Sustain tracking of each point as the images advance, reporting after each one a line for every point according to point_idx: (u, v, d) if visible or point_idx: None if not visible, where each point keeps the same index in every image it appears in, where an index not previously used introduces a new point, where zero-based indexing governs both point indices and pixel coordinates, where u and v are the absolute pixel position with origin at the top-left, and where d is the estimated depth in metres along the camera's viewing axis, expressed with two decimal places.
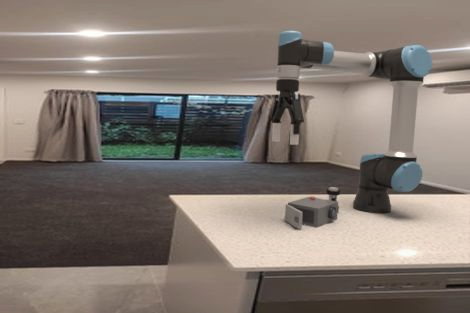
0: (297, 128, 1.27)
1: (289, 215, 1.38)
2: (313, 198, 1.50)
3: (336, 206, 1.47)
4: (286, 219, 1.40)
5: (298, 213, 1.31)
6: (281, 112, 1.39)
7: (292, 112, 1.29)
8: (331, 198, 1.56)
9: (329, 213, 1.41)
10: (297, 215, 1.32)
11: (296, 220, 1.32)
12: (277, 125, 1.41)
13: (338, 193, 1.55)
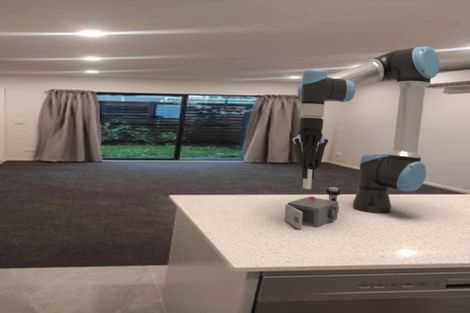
0: (303, 172, 1.32)
1: (289, 215, 1.38)
2: (313, 198, 1.50)
3: (336, 206, 1.47)
4: (286, 219, 1.40)
5: (298, 213, 1.31)
6: (311, 153, 1.32)
7: (303, 156, 1.33)
8: (331, 198, 1.56)
9: (329, 213, 1.41)
10: (297, 215, 1.32)
11: (296, 220, 1.32)
12: None
13: (338, 193, 1.55)
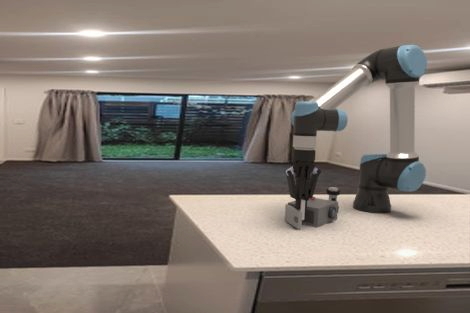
0: (296, 203, 1.33)
1: (289, 215, 1.38)
2: (313, 198, 1.50)
3: (336, 206, 1.47)
4: (286, 219, 1.40)
5: (298, 213, 1.31)
6: (304, 184, 1.33)
7: (296, 187, 1.33)
8: (331, 198, 1.56)
9: (329, 213, 1.41)
10: (297, 215, 1.32)
11: (296, 220, 1.32)
12: None
13: (338, 193, 1.55)
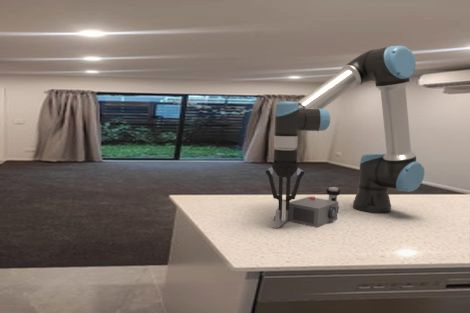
0: None
1: None
2: (313, 198, 1.50)
3: (336, 206, 1.47)
4: None
5: None
6: (286, 185, 1.32)
7: None
8: (331, 198, 1.56)
9: (329, 213, 1.41)
10: None
11: None
12: None
13: (338, 193, 1.55)
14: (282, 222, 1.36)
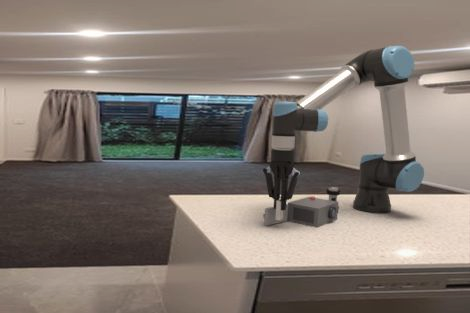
0: None
1: None
2: (313, 198, 1.50)
3: (336, 206, 1.47)
4: None
5: None
6: None
7: None
8: (331, 198, 1.56)
9: (329, 213, 1.41)
10: None
11: None
12: None
13: (338, 193, 1.55)
14: (275, 221, 1.37)
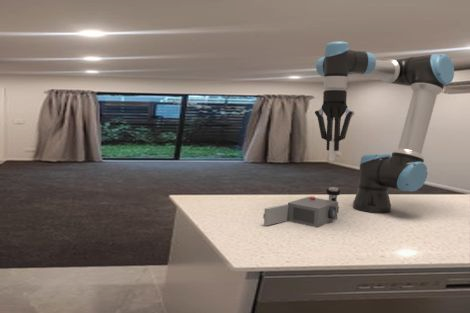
0: None
1: None
2: (313, 198, 1.50)
3: (336, 206, 1.47)
4: None
5: None
6: None
7: None
8: (331, 198, 1.56)
9: (329, 213, 1.41)
10: None
11: None
12: None
13: (338, 193, 1.55)
14: (275, 221, 1.37)
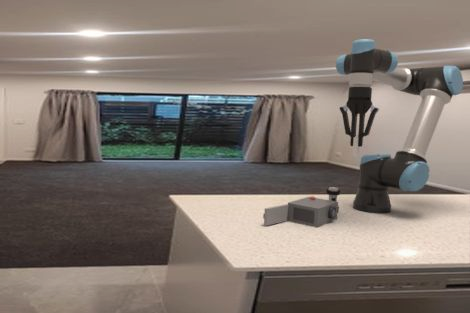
0: None
1: None
2: (313, 198, 1.50)
3: (336, 206, 1.47)
4: None
5: None
6: None
7: None
8: (331, 198, 1.56)
9: (329, 213, 1.41)
10: None
11: None
12: None
13: (338, 193, 1.55)
14: (275, 221, 1.37)
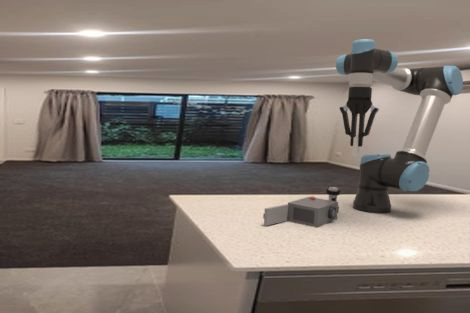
0: None
1: None
2: (313, 198, 1.50)
3: (336, 206, 1.47)
4: None
5: None
6: None
7: None
8: (331, 198, 1.56)
9: (329, 213, 1.41)
10: None
11: None
12: None
13: (338, 193, 1.55)
14: (275, 221, 1.37)
